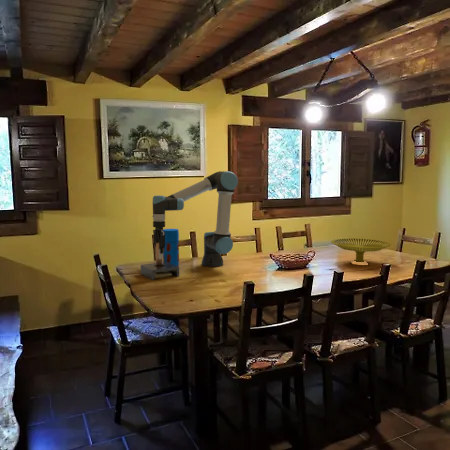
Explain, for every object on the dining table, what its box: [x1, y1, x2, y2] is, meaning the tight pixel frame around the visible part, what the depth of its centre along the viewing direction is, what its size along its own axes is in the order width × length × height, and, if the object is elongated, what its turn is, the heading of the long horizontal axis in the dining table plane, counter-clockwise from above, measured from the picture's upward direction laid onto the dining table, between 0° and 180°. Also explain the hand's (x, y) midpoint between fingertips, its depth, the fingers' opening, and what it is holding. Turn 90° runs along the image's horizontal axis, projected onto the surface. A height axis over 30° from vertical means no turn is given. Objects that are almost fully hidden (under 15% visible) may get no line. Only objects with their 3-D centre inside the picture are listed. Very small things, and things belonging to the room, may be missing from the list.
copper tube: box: [155, 242, 163, 272], centre depth 277 cm, size 4×4×18 cm
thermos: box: [163, 228, 180, 267], centre depth 304 cm, size 11×11×25 cm
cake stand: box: [330, 237, 391, 262], centre depth 313 cm, size 40×40×15 cm
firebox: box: [140, 262, 180, 281], centre depth 278 cm, size 18×18×6 cm
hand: (159, 257), depth 277 cm, fingers closed on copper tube, 4 cm apart
